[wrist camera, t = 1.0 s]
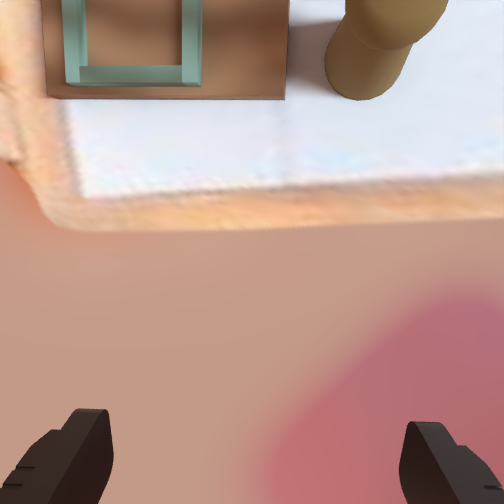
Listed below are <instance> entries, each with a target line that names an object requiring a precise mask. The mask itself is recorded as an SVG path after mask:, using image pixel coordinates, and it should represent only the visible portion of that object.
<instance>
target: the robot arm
mask: <svg viewBox="0 0 504 504" xmlns="http://www.w3.org/2000/svg"><path fill="white" fill-rule="evenodd" d="M113 458H114V452H113V444H112V435H111V427H110V419H109V413H108V411H107V410H106V409H80V408H79V409H76V410H75V411H74V412H73V413H72V414H71V416H70V417H69V418H68V420H67V422H66V423H65V424H64V426H63V427H62V429H61V430H50V431H49V432H48V433H47V434H45V435H44V436H43V437H42V438H40V439H39V440H38V441H37V442H35V443H34V444H33V445H32V446H31V447H30V448H29V450H28V451H27V452H26V453H25V455H24V456H23V457H22V459H21V460H20V461H19V463H18V464H17V465H16V468H15V470H13V471H12V472H11V473H10V475H9V476H8V477H7V479H6V480H5V481H4V483H3V486H2V488H0V504H98V503H99V500H100V498H101V496H102V493H103V491H104V489H105V487H106V485H107V482H108V480H109V477H110V474H111V470H112V465H113ZM399 477H400V483H401V487H402V490H403V493H404V496H405V498H406V500H407V503H408V504H504V490H503V489H502V485H501V484H500V482H499V481H498V479H497V478H496V477H495V475H494V474H493V473H492V471H491V469H490V468H489V467H488V465H487V464H486V463H485V462H484V461H482V460H481V459H480V458H479V457H478V456H477V455H476V454H474V453H473V452H472V451H471V450H470V449H469V448H468V447H467V446H461V445H457V444H456V443H455V442H454V440H453V438H452V437H451V435H450V434H449V432H448V431H447V429H446V428H445V426H444V425H443V424H441V423H439V422H415V421H411V422H409V423H408V425H407V429H406V433H405V438H404V443H403V448H402V453H401V458H400V463H399Z"/></svg>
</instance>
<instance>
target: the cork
mask: <svg viewBox="0 0 504 504" xmlns="http://www.w3.org/2000/svg"><path fill="white" fill-rule="evenodd" d="M447 3H448V0H345V12H346V14H345V16H344V17H343V19H342V21H341V23H340V25H339V26H338V28H337V30H336V32H335V33H334V35H333V37H332V39H331V41H330V42H329V44H328V48H327V51H326V55H325V72H326V75H327V78H328V81H329V82H330V84H331V85H332V86H333V88H334V89H335V90H336V91H337V92H338V93H340V94H341V95H343V96H344V97H346V98H349V99H353V100H357V101H358V100H370V99H372V98H375V97H377V96H379V95H382V94H383V93H384V92H385V91H387V90H388V89H389V88H390V87H391V86H392V85H393V84H394V82H395V81H396V79H397V78H398V76H399V75H400V73H401V70H402V68H403V66H404V63H405V61H406V59H407V57H408V54H409V52H410V50H411V47H412V45H413V43H416V42H417V41H419V40H420V39H421V38H422V37H423V36H425V35H426V34H427V33H428V32H429V31H430V30H431V29H432V28H433V27H434V26H435V24H436V23H437V22H438V20H439V19H440V17H441V16H442V14H443V13H444V11H445V9H446V6H447Z"/></svg>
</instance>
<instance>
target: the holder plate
mask: <svg viewBox="0 0 504 504" xmlns="http://www.w3.org/2000/svg"><path fill="white" fill-rule="evenodd" d="M41 5H42V21H43V37H44V53H45V68H46V84H47V95H50V96H53V97H55V98H58V99H169V100H285V87H286V67H287V46H288V26H289V5H290V0H41Z"/></svg>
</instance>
